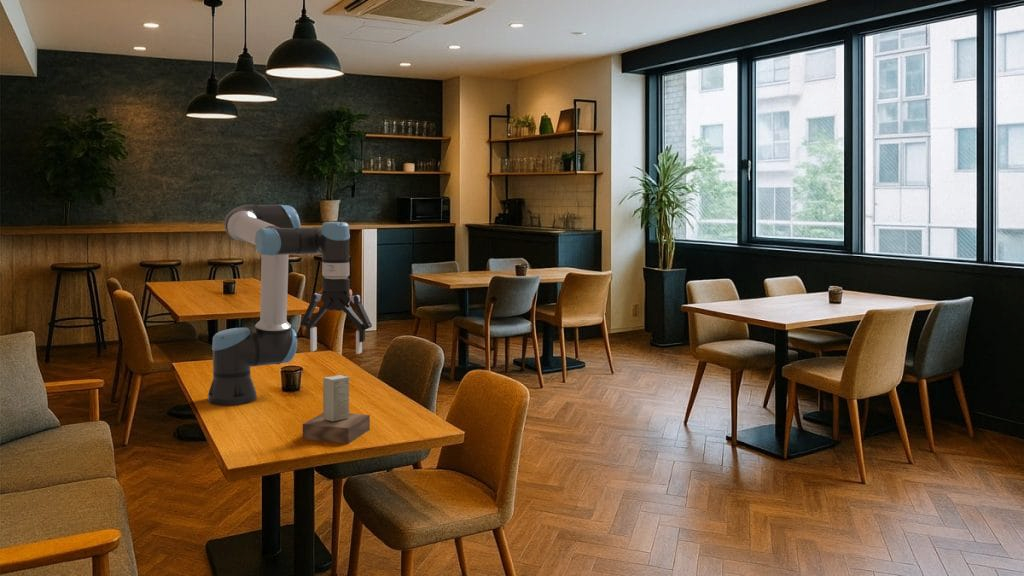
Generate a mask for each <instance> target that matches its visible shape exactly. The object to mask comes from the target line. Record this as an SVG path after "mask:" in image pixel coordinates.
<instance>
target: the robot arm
mask: <svg viewBox="0 0 1024 576" xmlns="http://www.w3.org/2000/svg"><path fill="white" fill-rule="evenodd" d="M300 220H301V219H300V217H299V214H298V212H297V210H296V209H295V207H293V206H291V205H286V204H243V205H240V206H239V205H238V206H237V207H235V208H233V209H231V210H230V211H229V212H228V213H227V215H226V216H225V218H224V224H223V225H224V229H225V232H226V233H227V235H228V236H229V237H230V238H232V239H234V240H235V241H238V242H247V243H250V244H252V245H255V249H256V251H257V253H258V254H260V255H261V263H260V265H261V267H260V268H261V270H260V271H261V272H260V313H259V314H260V315H259V317H260V319H259V321H258V322H256V324H255V327H254V331H251V330H250V328H248V327H234V328H233V327H232V328H228V329H223V330H221V331H220V330H219V331H218V332H216V333H214V335H213V336H212V346H211V350H212V373H213V374H212V382H211V384H210V387H209V390H208V394H207V402H208V403H209V404H212V405H218V406H237V405H243V404H248V403H252V402H254V401H256V400H257V390H256V386H255V385H254V382H253V380H252V376H251V368H252V367H261V366H269V365H270V366H271V365H281V364H285V363H286V364H287V363H289V362H291V361H292V360H293V359H294V357H295V355H296V353H297V349H298V338H297V337H298V336H297V332H296V331H295V330H294V329H293V328H292V325H291V323H289V322H288V320H287V317H288V315H287V314H288V287H289V286H288V285H289V257H290V256H289V255H314V254H315V255H321V264H322V265H321V267H322V268H321V271H322V272H321V274H322V275H321V276H323V278H322V280H321V290H322V293H321V294H320V293H318V292H315V293H312V294H311V297H310V302H309V305H308V306H307V309H306V311H305V313H304V315H303V317H302V320H301V321H300V325H301V326H303V327H306V331H307V332H306V333H307V335H306V337H307V339H308V340H310V341H309V342H310V344H309V346H310V347H309V349H310V351H309V352H315V351H317V350H318V349H317V348H318V345H317V344H318V342H317V341H318V336H317V335H318V334H317V333H318V331H317V330H318V328H317V326H316V324H317V323H318V322H319V320H320V319H321V318H323V315H325V313H326V312H327V311H337V312H339V311H341V312H342V311H343V313H344V314H346V315H347V317H348V318H349V319H350V321H351V322H352V323H353V325H355V328H357V330H356V331H355V354H356V355H360V354H362V353H363V343H364V342H365V341H366V330H369V329H371V328H372V326H373V325H372V322H371V320H370V318H369V316H368V313H367V311H366V310H365V308H364V306H363V303H362V298H361V297H362V296H361V295H360V294H356V295H351V294H350V292H351V291H350V285H351V284H350V283H351V282H350V281H351V280H350V278H349V276H350V269H351V268H350V266H351V265H350V240H351V239H350V238H351V235H350V225H349V224H348V223H347V222H345V221H341V222H340V221H325V222H323V223H322V225H321V226H313V227H302V226H301V221H300ZM320 301H322V302H323V304H322V305H321V307H320V308H319V310H317V312H316V313H315V314H314V311H315V309H316V308H317V305H318V304H319V302H320ZM350 302H352V304H353V305H354V307H355V310H356V312H357V314H358V315H357V314H356V312H355V311H354V310H353V308H352V306H351V305H350V304H349V303H350ZM313 314H314V316H313ZM312 316H313V317H312Z"/></svg>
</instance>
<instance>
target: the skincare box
mask: <svg viewBox="0 0 1024 576" xmlns="http://www.w3.org/2000/svg"><path fill="white" fill-rule="evenodd" d="M322 381H323V383H322V384H323V386H322V388H323V390H322V393H323V398H322V399H323V401H322V402H323V404H322V407H323V408H322V409H323V410H322V413H323V419H325V420H329V421H337V420H341V419H346V418H349V413H350V376H347V375H344V374H343V375H342V374H337V375H331V376H325V377H323V378H322Z"/></svg>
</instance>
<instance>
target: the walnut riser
mask: <svg viewBox="0 0 1024 576" xmlns="http://www.w3.org/2000/svg"><path fill="white" fill-rule="evenodd" d="M370 417H371V415H370V414H361V413H350V412H349V418H346V419H341V420H337V421H329V420H325V419H323V412H322V413H319V414H318V415H317V416H315V417H312V418H311V419H309V420H307V421H305V422H304V423H302V440H309V441H316V442H317V441H319V442H326V443H327V442H328V443H336V444H337V443H338V444H347V445H350V443H352V442H354V441H356V440H357V439H358V438H360V437H361V436H363V435H364V434H366V433H367V432H369V431H370V430H371V426H370V425H371V424H370V422H371V420H370V419H371V418H370Z"/></svg>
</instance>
